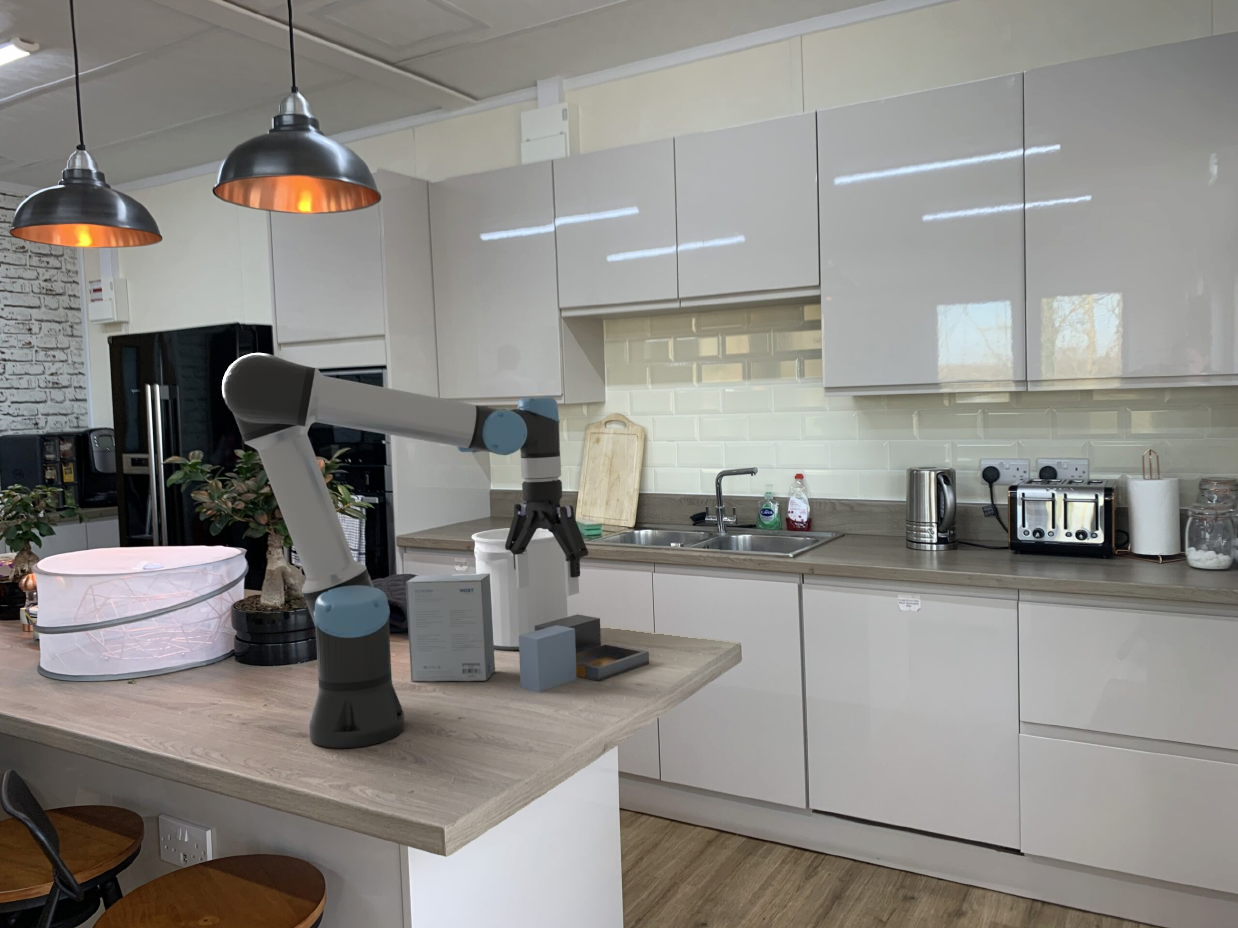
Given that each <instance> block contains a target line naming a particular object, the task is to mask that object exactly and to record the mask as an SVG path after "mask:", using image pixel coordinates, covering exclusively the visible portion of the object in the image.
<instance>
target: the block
mask: <svg viewBox="0 0 1238 928" xmlns="http://www.w3.org/2000/svg"><path fill="white" fill-rule="evenodd" d="M518 651H519V654H518V655H519V674H520V675H519V676H520V688H521V689H525V690H529V691H532V692H536V693H541V692H545V691H546V690H550V689H553V688H556V687H558V686H561V685H564V684H568V683H570V682H573V681H576V680H577V679H578V678H577V677H578V676H576V647H575V629H574V628H568V627H563V626H558V625H556V626H552V627H548V628H545V629H541V630H538V631H534V632H530V633H527V634H523V635H519V650H518Z"/></svg>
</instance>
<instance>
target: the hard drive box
mask: <svg viewBox="0 0 1238 928" xmlns="http://www.w3.org/2000/svg"><path fill="white" fill-rule="evenodd" d="M405 595H406V611H407V613H406V614H407V629H408V631H407V632H408V646H409V647H408V649H409V659H410V660H409V663H410V665H409V666H410V681H411V682H454V681H455V682H475V681H476V682H479V681H482V682H484V681H487V680H488V679H490V677H491V676H492V675H493V673H494V672H495V671H496V662H495V649H494V642H493V622H492V603H491V585H490V574H489V573H487V574H476V573H453V574H449V573H448V574H429V575H415V576H413V578H410V579H409V580H407V581H405Z"/></svg>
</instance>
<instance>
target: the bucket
mask: <svg viewBox="0 0 1238 928" xmlns="http://www.w3.org/2000/svg"><path fill="white" fill-rule="evenodd" d="M509 530H510V527H509V528H508V527H506V528H497V529H496V528H495V529H491V530H490V529H489V530H484V531H480V532H476V533H473V534H472V535H471V539H472V540H474V549H473V552H474V553H473V554H474V557H475V574H487V573H489V574H490V585H491V603H492V622H493V642H494V650H501V651H502V650H503V651H519V635H523V634H527V633H530V632H534V631H535V626H536V625H540V624H543V623H547V622H551V621H555V620H558V619H562V618H566V617H569V616H568V596H567V595H566V584H565V563H564V560H566V558H567V556H566V555H565V553H564V552H563V550H562V548H561V547H560V545H559V543H558V542H557V540H556V538H555V537H554V535H553V534H552V532H549V530H548V529H542V528H538V529H537V530H536V531H535V533H534V535H533V537H532V538H531V540H530V542H529V544H528V545H527V547H526V550H527V551H526V550H525V551H526V552H523V553H528V567H529V586H527V587H522V588H517V587H516V570H515V569H514V557H513V554H512V552H511V551H510V550H506V549H505V544H506V541H507V537H508V534H509ZM512 543H513V542H512Z"/></svg>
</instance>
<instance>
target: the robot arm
mask: <svg viewBox="0 0 1238 928" xmlns="http://www.w3.org/2000/svg"><path fill="white" fill-rule="evenodd" d="M221 391H222V397H223V399H224V400H223V401H224V402H225V404H226V406H227V407H228V409H229V410H230V412H232V414H233V416H234V419H235V422H236V424H237V427H238V428H239V432H240V434H241V437H242V440H243V442H244V445H247V446H249V447H251V448H253V449H255V450H256V451H257V452H258V455H259V457H260V460H261V463H262V466H263V469H264V470H265V473H266V476H267V479H268V481H269V484H270V486H271V489H272V492H273V494H274V496H275V497H274V498H275V499H276V501H277V505H278V507H279V509H280V512H281V515H282V518H283V521H284V523H285V525H286V528H287V530H288V534H289V536H290V538H291V539H290V540H291V541H292V544H293V547H294V549H295V551H296V555H297V557H298V560H299V562H300V565H301V567H302V570H303V572H304V575H305V578H306V579H305V582H304V584H303V585H302V588H301V592H302V596H303V598H304V600H305V603H306V607H308V611H309V614H310V617H311V619H312V622H313V624H314V627H315V640H316V642H315V645H316V658H317V659H316V663H317V678H318V691H317V695H316V700H315V703H314V708H313V711H312V715H311V718H310V721H309V728H308V729H309V739H310V741H311V742H312V743H314V744H315V745H318V746H319V747H324V748H332V749H348V748H349V749H350V748H360V747H361V748H362V747H366V746H371V745H375V744H380V743H382V742H386V741H388V740H390V739H393V738H395V737H397V736H398V735H400V734H401V733H403V731H404V730H405V727H406V724H405V722H406V721H405V712H404V710H403V707H402V705H401V702H400V699H399V697H398V694H397V692H396V690H395V687H394V685H393V679H392V676H393V675H392V662H391V661H392V659H391V658H392V656H391V638H390V637H391V636H390V614H391V610H390V605H389V601H388V597H387V595H386V593H385V592H384V591H383V590H381V589H379V588H377V587H375V586H374V584H373V581H372V579H371V576H370V573H369V572H368V569H367V565H366V564H363V563H361V562H358V561H356V560H355V559H354V555H353V553H352V551H351V547H350V546H349V542H348V540H347V539H348V538H347V537H346V535H345V532H344V529H343V526H342V524H341V521H340V518H339V515H338V512H337V510H336V508H335V505H334V503H333V502H334V501H333V500H332V497H331V495H330V492H329V488H328V487H327V483H326V480H325V478H324V475H323V473H322V469H321V468H320V465H319V464H320V463H319V462H318V459H317V456H316V453H315V451H314V448H313V446H312V443H311V441H310V438H309V436H308V435H309V434H308V432H309V429H310V427H311V425H312V424H314V423H320V424H325V425H330V426H331V425H332V426H336V427H341V428H342V427H343V428H349V429H354V430H361V431H365V432H366V431H367V432H371V433H378V434H383V435H389V436H396V437H401V438H406V439H413V440H419V441H425V442H428V443H429V442H430V443H435V444H442V445H448V446H452V447H453V446H454V447H456V449H457V450H458V451H459V452H460V453H473V454H474V453H479V452H483V453H484V452H487V453H492V454H496V455H501V456H508V455H512V454H514V453H516V452H517V451H519V450H520V451H519V453H520V469H521V470H520V472H521V475H520V476H521V478H522V479H524V481H523V482H522V483H521V489H522V490H521V491H522V500H523V501H524V502H521V503H515V504H514V505H513V506H514V507H513V518H512V521H511V525H510V527H509V528H510V530H509V534H508V537H507V541H506V544H505V549H506V550H510V551H511V552H512V554H513V557H514V569H515V570H516V587H517V588H522V587H527V586H529V567H528V553H523V552H526V551H527V550H526V547H527V545H528V544H529V542H530V540H531V538H532V537H533V535H534V533H535V531H536V530H537V529H538V528H542V529H548V530H549V532H552V534H553V535H554V537H555V538H556V540H557V542H558V543H559V545H560V547H561V548H562V550H563V552H564V553H565V557H566V560H564V563H565V584H566V595H567V597H569V596H573V595H577V594H579V593H580V582H579V579H580V578H579V577H580V575H581V559H582V558H584V557H587V556H588V555H589V551H588V548H587V546H586V544H585V543H586V542H585V541H584V537H583V536H582V532H581V531H580V528H579V525H578V522H577V520H576V517H575V512H574V511H575V510H574V506H573V505H572V504H571V505H565V506H561V503H560V502H561V500H562V498H563V482H562V480H561V479H559V478H561V476H562V462H561V461H562V460H561V447H560V445H561V444H560V443H561V439H560V437H561V435H560V422H561V421H560V416H559V406H558V402H557V400H556V399H555V398H554V397H550V396H549V397H533V398H532V397H530V398H525V397H524V398H519V400H518V402H517V407H516V408H514V409H506V408H505V409H504V408H501V409H498V408H493V407H487V406H483V405H476V404H472V403H468V402H461V401H457V400H451V399H446V398H442V397H440V398H439V397H436V396H432V395H431V396H430V395H425V394H420V393H415V392H409V391H403V390H400V389H394V388H390V387H389V388H388V387H384V386H379V385H373V384H367V383H363V382H357V381H352V380H348V379H342V378H336V377H330V376H325V375H323V374H322V373H321V372H320V370H319V369H318V368H317V367H312V366H307V365H304V364H299V363H296V362H292V361H289V360H285V359H284V358H280V357H278V356H276V355H273V354H271V353H262V352H255V353H249V354H246V355H243V356H241V357H239V358H237V359H236V360H235V361H233V363H231V364H230V365H229V366H228V368H227V370H226V371H225V373H224V376H223V379H222V385H221ZM512 542H513V543H512ZM525 550H526V551H525Z"/></svg>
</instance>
